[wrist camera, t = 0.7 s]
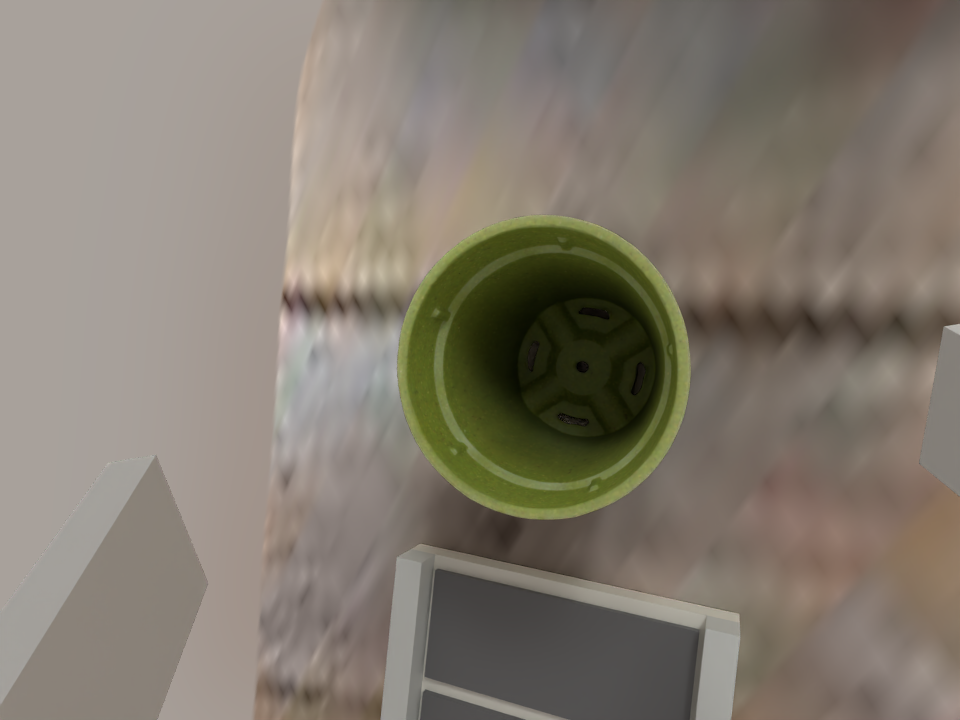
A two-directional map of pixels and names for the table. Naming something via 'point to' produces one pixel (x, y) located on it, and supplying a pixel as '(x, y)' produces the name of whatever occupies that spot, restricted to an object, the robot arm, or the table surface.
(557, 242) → the plant pot
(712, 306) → the table surface
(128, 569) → the robot arm
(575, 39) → the table surface
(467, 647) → the box
